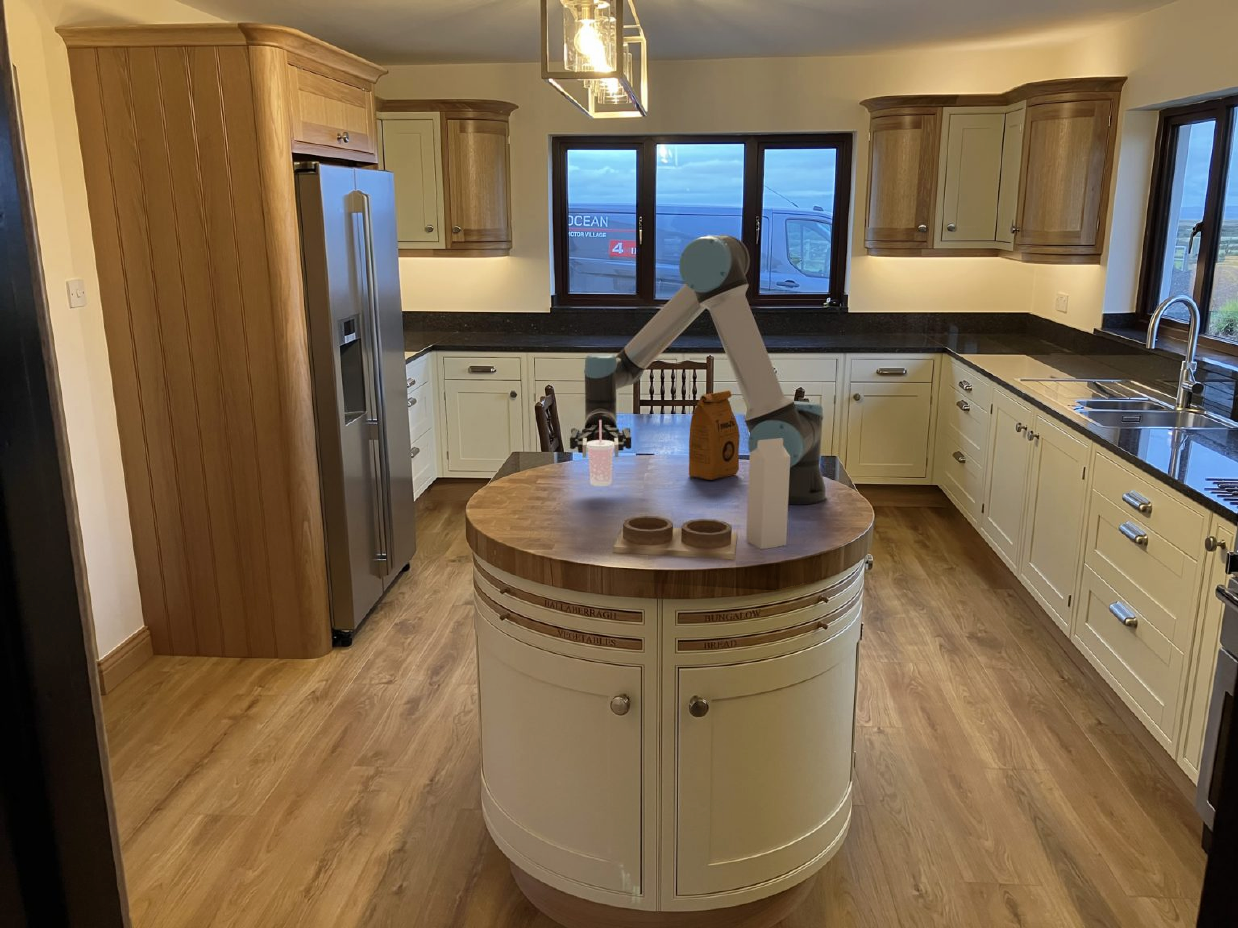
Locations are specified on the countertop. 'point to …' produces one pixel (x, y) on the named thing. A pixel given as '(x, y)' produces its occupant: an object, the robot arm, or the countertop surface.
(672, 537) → the socket board
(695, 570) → the countertop surface
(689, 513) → the countertop surface
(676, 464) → the countertop surface
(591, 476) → the beverage cup
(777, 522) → the milk
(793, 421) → the robot arm
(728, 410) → the coffee package
